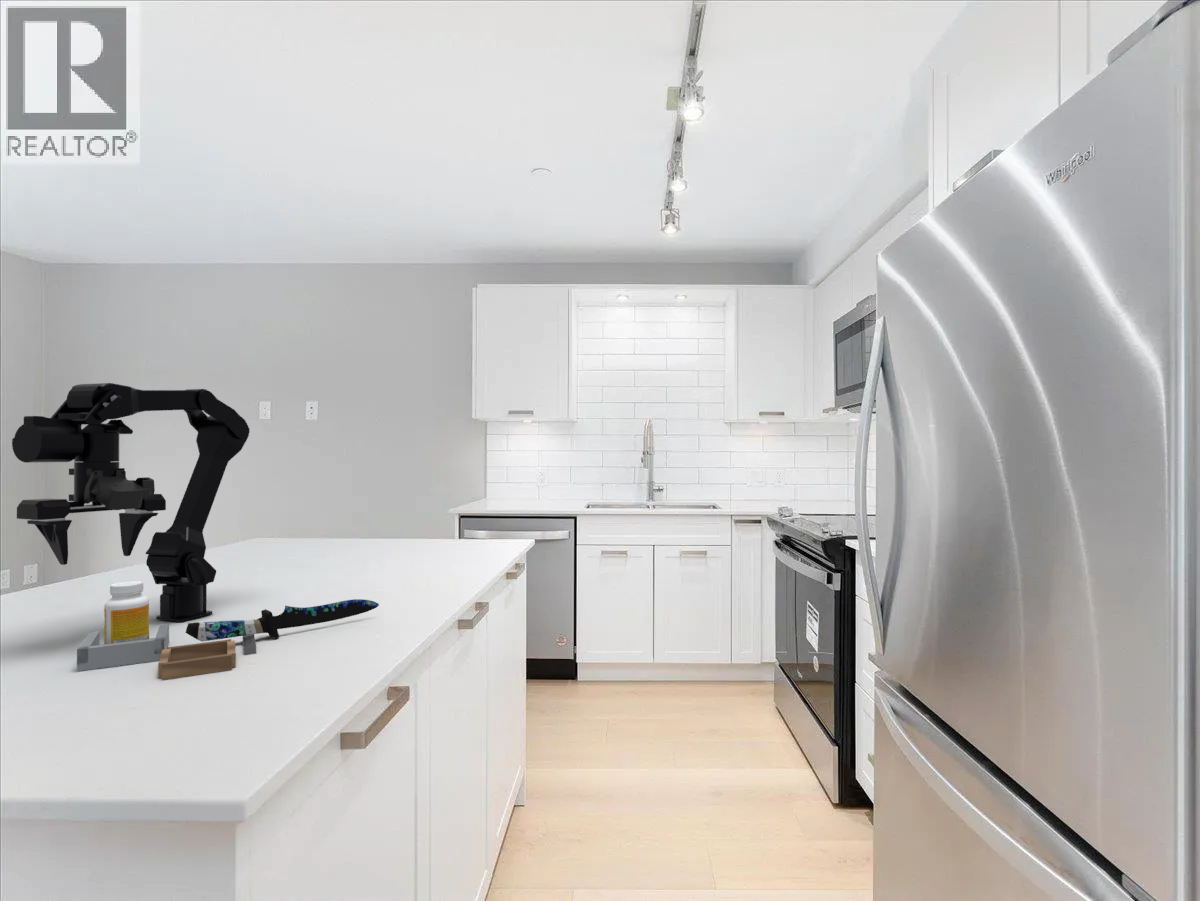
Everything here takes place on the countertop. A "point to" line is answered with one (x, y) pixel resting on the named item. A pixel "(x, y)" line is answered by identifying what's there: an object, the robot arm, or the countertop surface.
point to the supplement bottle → (126, 613)
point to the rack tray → (120, 651)
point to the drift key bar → (249, 644)
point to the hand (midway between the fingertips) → (96, 560)
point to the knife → (279, 620)
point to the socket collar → (197, 659)
